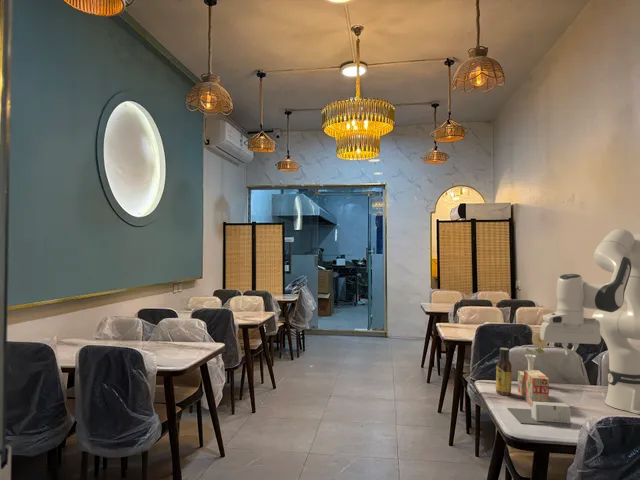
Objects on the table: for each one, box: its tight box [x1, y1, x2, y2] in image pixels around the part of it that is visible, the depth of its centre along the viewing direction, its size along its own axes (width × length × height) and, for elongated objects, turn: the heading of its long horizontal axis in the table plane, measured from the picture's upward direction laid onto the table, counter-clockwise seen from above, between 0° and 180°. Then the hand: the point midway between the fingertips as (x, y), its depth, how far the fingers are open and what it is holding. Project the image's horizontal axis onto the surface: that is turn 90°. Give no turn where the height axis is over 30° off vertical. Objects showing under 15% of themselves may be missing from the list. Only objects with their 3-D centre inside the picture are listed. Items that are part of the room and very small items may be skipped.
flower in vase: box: [517, 332, 549, 381], centre depth 200 cm, size 13×11×25 cm
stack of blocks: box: [517, 369, 550, 408], centre depth 179 cm, size 21×6×12 cm, turn 169°
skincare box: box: [530, 401, 572, 424], centre depth 155 cm, size 6×4×12 cm
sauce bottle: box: [495, 347, 513, 396], centre depth 186 cm, size 7×6×20 cm
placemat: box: [506, 407, 572, 428], centre depth 158 cm, size 17×15×1 cm
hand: (570, 354), depth 157 cm, fingers closed
